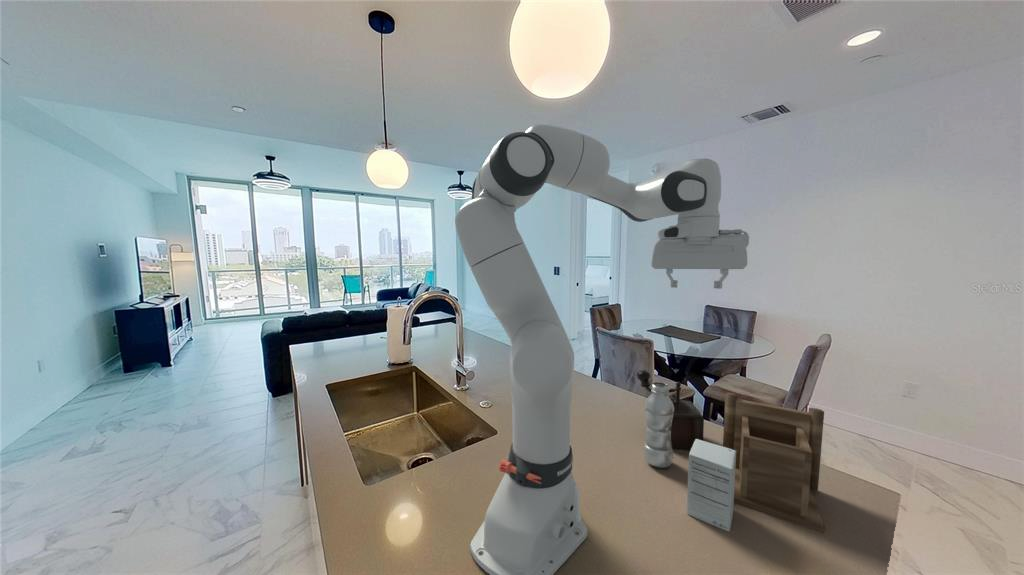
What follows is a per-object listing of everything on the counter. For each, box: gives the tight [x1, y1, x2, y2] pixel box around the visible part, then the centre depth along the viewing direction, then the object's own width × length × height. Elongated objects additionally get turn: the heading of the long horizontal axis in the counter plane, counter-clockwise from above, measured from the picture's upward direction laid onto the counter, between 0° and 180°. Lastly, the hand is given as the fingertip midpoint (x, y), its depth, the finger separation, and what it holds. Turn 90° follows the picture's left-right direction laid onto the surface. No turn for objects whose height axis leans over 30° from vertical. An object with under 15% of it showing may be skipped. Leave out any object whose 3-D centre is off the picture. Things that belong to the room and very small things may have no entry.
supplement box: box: [686, 439, 736, 533], centre depth 65 cm, size 7×7×13 cm
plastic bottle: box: [643, 381, 674, 469], centre depth 80 cm, size 6×7×20 cm
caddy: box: [722, 392, 826, 533], centre depth 70 cm, size 14×17×18 cm
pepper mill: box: [636, 369, 705, 451], centre depth 92 cm, size 16×11×18 cm
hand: (695, 287), depth 80 cm, fingers open, 8 cm apart
